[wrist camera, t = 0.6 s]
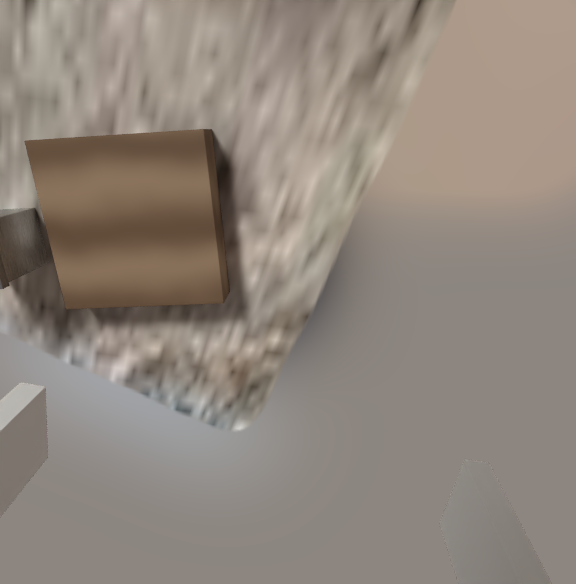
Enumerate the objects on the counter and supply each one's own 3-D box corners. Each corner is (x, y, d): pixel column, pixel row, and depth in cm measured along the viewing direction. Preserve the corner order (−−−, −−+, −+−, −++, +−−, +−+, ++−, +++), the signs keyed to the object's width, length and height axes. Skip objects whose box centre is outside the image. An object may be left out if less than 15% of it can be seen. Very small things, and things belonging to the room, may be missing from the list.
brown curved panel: (46, 140, 37) (24, 140, 34) (211, 129, 36) (203, 129, 33) (83, 299, 42) (66, 311, 39) (230, 293, 41) (223, 305, 38)
